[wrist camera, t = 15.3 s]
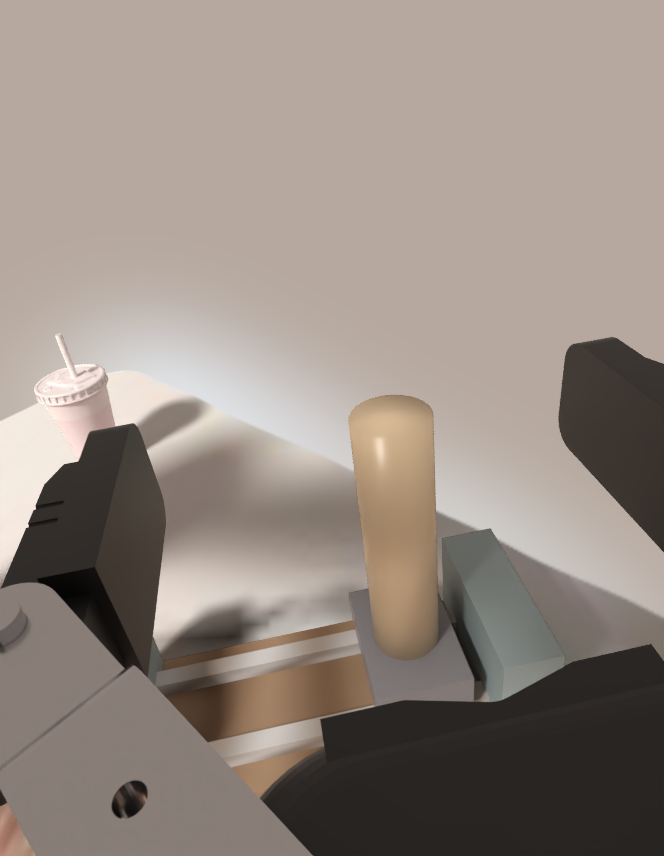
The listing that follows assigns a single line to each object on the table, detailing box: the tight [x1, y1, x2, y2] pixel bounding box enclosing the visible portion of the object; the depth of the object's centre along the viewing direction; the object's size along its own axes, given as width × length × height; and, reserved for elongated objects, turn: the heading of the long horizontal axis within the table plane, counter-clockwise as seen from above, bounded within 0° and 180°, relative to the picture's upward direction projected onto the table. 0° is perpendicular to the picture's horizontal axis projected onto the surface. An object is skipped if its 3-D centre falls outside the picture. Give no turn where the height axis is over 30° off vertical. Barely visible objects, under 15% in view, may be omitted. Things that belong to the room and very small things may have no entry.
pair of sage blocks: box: [148, 529, 565, 702], centre depth 32 cm, size 24×9×7 cm, turn 100°
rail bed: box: [156, 601, 489, 798], centre depth 33 cm, size 24×9×2 cm, turn 100°
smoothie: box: [34, 333, 115, 460], centre depth 55 cm, size 6×6×14 cm
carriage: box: [349, 395, 474, 707], centre depth 29 cm, size 5×7×16 cm
